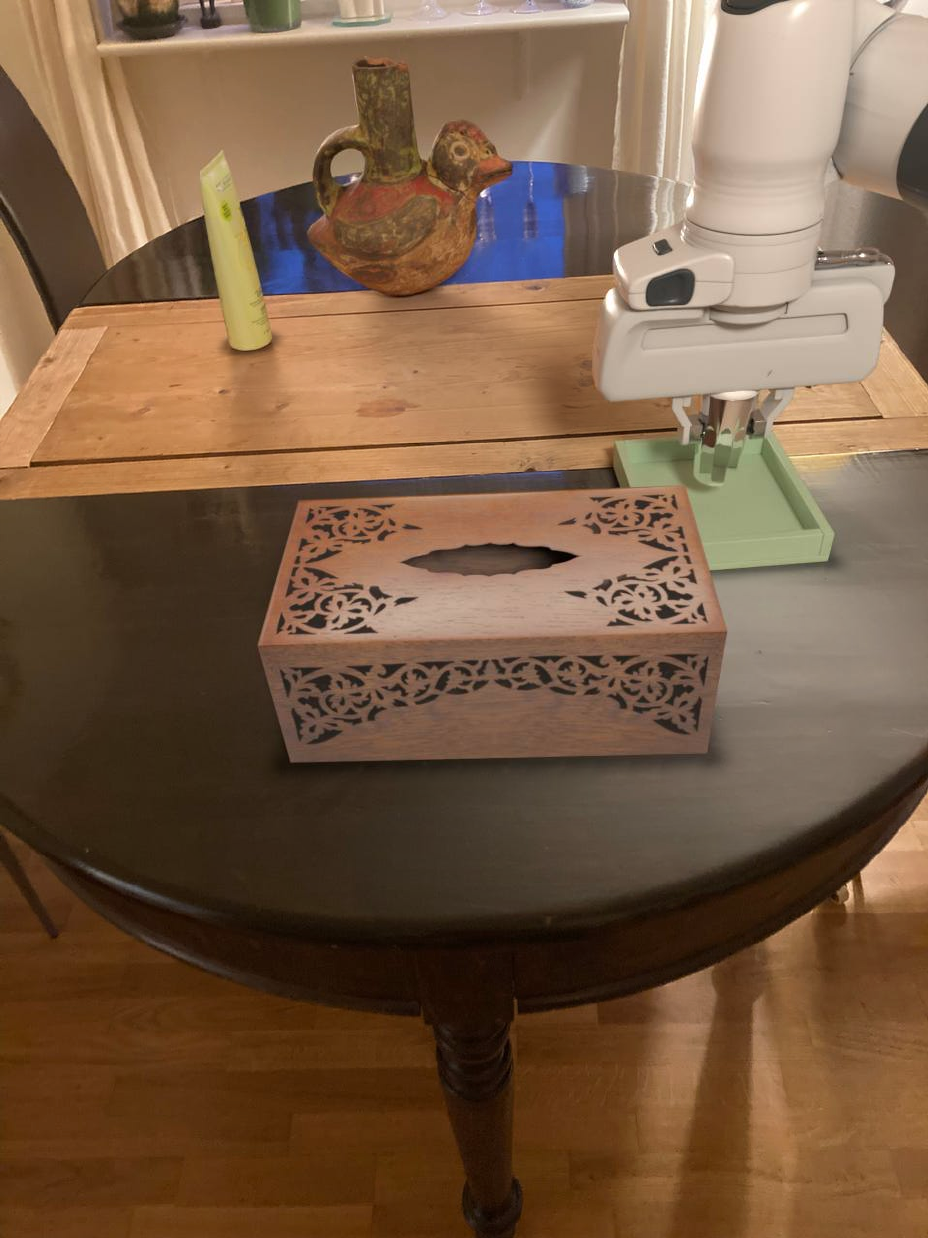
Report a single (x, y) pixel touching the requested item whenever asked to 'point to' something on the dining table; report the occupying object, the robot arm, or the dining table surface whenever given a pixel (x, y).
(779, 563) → the tray
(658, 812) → the dining table surface
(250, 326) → the tube
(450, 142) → the ceramic vessel
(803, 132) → the robot arm
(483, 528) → the tissue box cover
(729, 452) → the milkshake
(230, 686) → the dining table surface
